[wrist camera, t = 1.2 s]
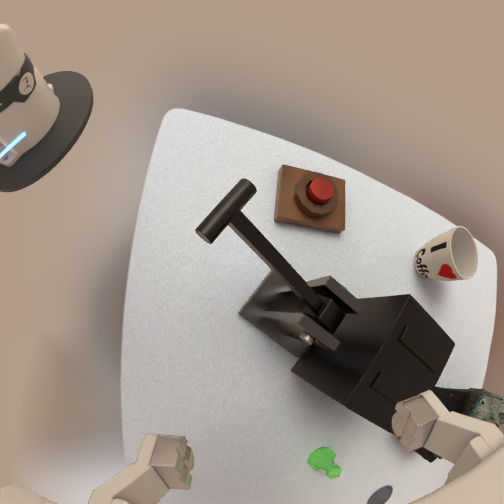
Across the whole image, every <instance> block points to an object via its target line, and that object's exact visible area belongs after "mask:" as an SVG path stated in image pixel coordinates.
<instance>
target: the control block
mask: <svg viewBox="0 0 504 504" xmlns="http://www.w3.org/2000/svg"><path fill="white" fill-rule="evenodd" d="M316 178H325V179H327V180H328V181H329V182H330V183H331V185H332V187H333V195H332V197H331V198H330V199H328V200H327V201H326V202H325V203H323V204H316V203H314V202H312V201H311V200H310V199H309V197H308V195H307V187H308V186H309V185H310V183H311V182H312V181H313V180H314V179H316ZM274 221H279V222H284V223H289V224H295V225H300V226H305V227H311V228H316V229H321V230H326V231H331V232H336V233H340V232H342V231H344V230H345V180H343V179H339V178H335V177H332V176H328V175H324V174H321V173H317V172H312V171H308V170H304V169H300V168H295V167H291V166H287V165H282V166H281V168H280V169H279V174H278V185H277V195H276V205H275V215H274Z"/></svg>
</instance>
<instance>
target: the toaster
mask: <svg viewBox="0 0 504 504" xmlns="http://www.w3.org/2000/svg"><path fill="white" fill-rule="evenodd" d="M358 300H359V301H360V302H361V303H362V304H364V306H363V308H362V310H361V311H360V313H359V314H346V316H345V317H344V319H343V321H342V322H341V324H340V325H339V327H338V328H337V330H336V331H335V333H334V334H332V333H330V332H328V333H330V334H331V335H332V336H333V337H335V338H336V339H337V340H339V341H340V344H339V346H338V347H337V349H336V350H335V351H331V350H328V349H325V348H322V347H319V346H316V345H313V344H312V345H311V344H310V345H309V346H308V348H307V349H306V350H305V352H304V353H303V355H302V356H301V357H300V359H299V360H298V361H297V363H296V364H295V365H294V367H293V368H292V369H291V371H292V372H293V373H295V374H296V375H298V376H299V377H301V378H302V379H304V380H305V381H307V382H308V383H309V384H311V385H312V386H314V387H315V388H317V389H318V390H320V391H322V392H323V393H325V394H326V395H328V396H329V397H331V398H332V399H334V400H335V401H337V402H339V403H340V404H342V405H343V406H345V407H347V408H348V409H350V410H352V411H353V412H355V413H357V414H358V415H360V416H362V417H363V418H365V419H367V420H368V421H370V422H372V423H374V424H375V425H377V426H379V427H381V428H383V429H384V430H386V431H388V432H390V433H392V434H393V435H395V433H394V431H393V428H392V418H393V415H394V414H395V413H396V412H397V411H396V409H395V407H396V404H397V403H398V402H399V401H402V400H404V399H407V398H410V397H412V396H415V395H417V394H420V393H423V392H425V391H428V390H431V391H432V390H433V389H434V387H435V385H436V383H437V381H438V379H439V377H440V375H441V373H442V371H443V369H444V367H445V365H446V363H447V361H448V359H449V357H450V355H451V352H452V350H453V348H454V346H455V343H454V342H453V341H452V340H451V338H450V337H449V336H448V335H447V334H446V333H445V332H444V330H443V329H442V328H441V327H440V326H439V325H438V324H437V323H436V321H435V320H434V319H433V318H432V317H431V316H430V315H429V314H428V313H427V312H426V311H425V310H424V308H423V307H422V306H421V305H420V304H419V303H418V302H417V301H416V300H415V299H414V298H413V297H412V296H411V295H410V294H406V295H396V296H386V297H374V298H362V299H358ZM395 436H396V435H395ZM397 437H398V436H397ZM399 438H400V437H399Z"/></svg>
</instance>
